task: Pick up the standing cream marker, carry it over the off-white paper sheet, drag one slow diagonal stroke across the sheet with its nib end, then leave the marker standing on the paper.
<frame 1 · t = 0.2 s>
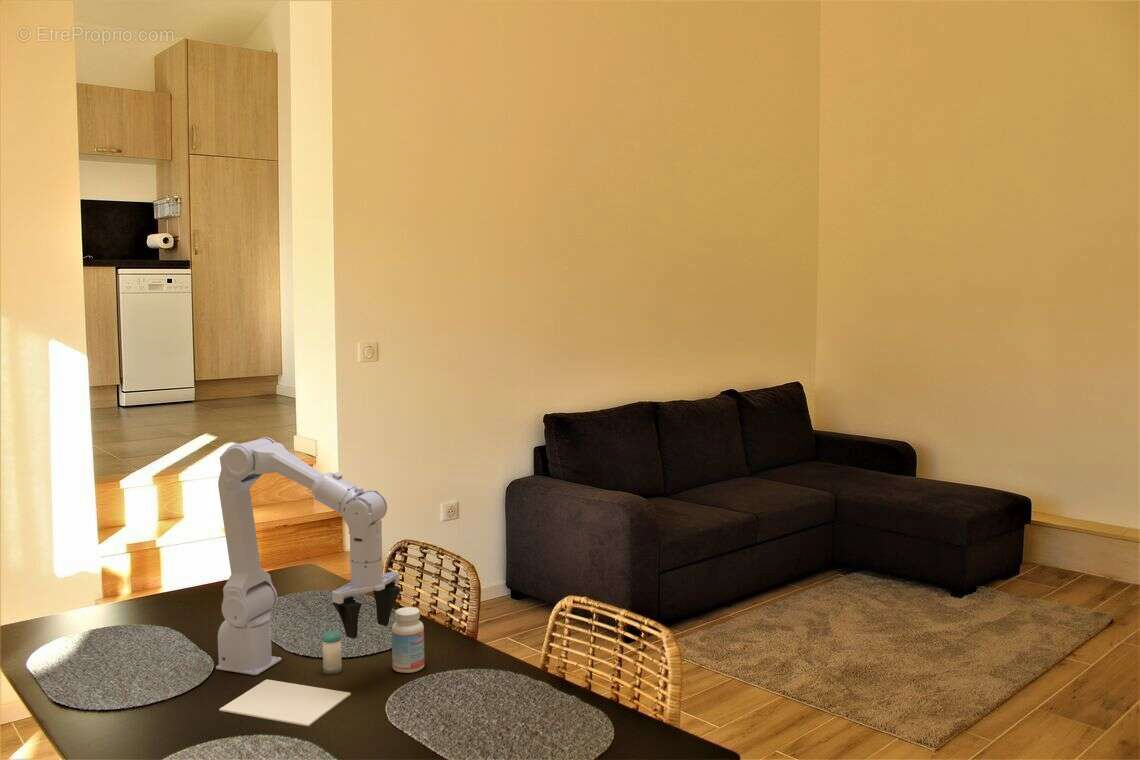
hand: (367, 630, 174), 10 cm above the table, fingers open, 7 cm apart
marker: (332, 670, 181), on the table
paper: (286, 702, 167), on the table
pill bottle: (408, 668, 182), on the table
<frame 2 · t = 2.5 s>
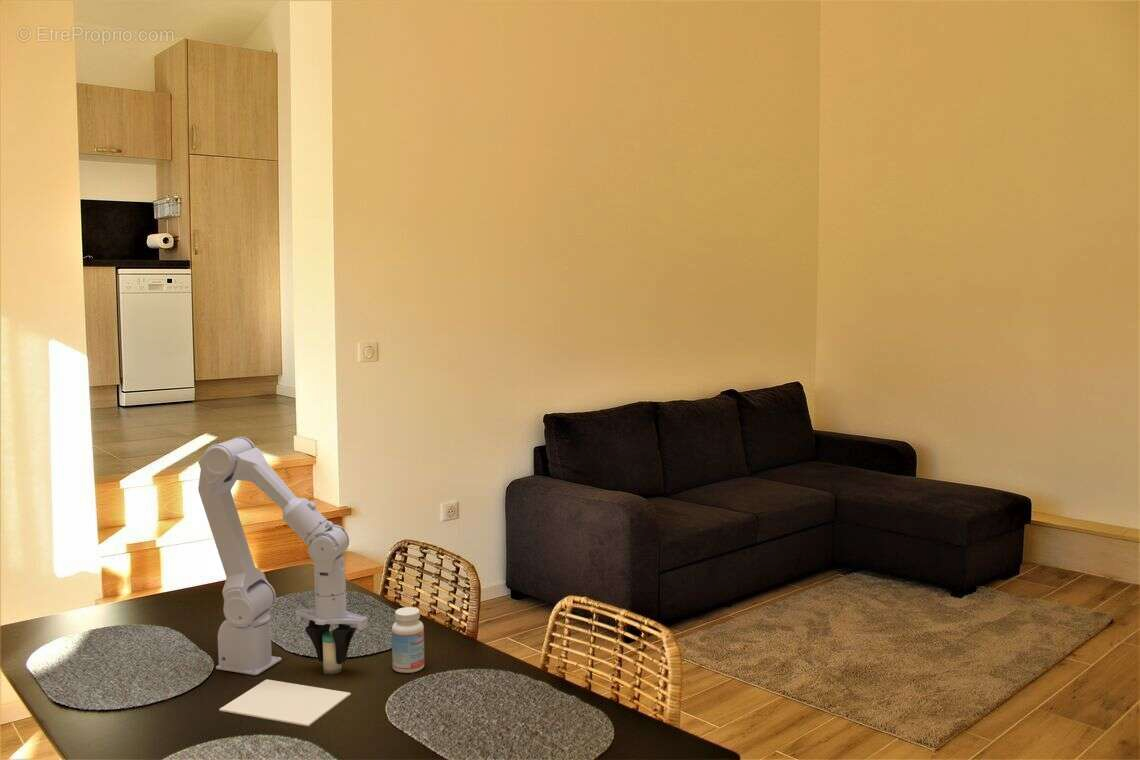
hand: (332, 661, 180), 2 cm above the table, fingers closed on marker, 3 cm apart
marker: (332, 670, 181), on the table, touching gripper
everything else where it was.
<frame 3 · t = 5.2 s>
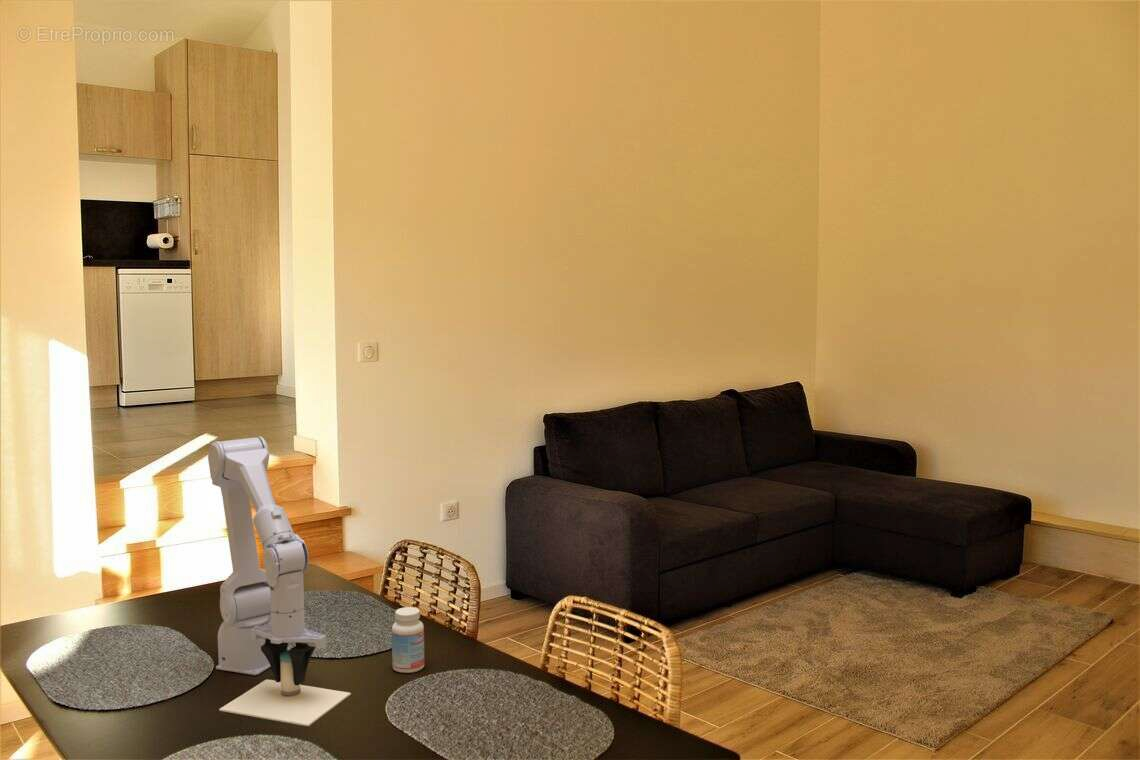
hand: (289, 681, 170), 2 cm above the table, fingers closed on marker, 3 cm apart
marker: (290, 692, 170), resting on paper, touching gripper
everything else where it was.
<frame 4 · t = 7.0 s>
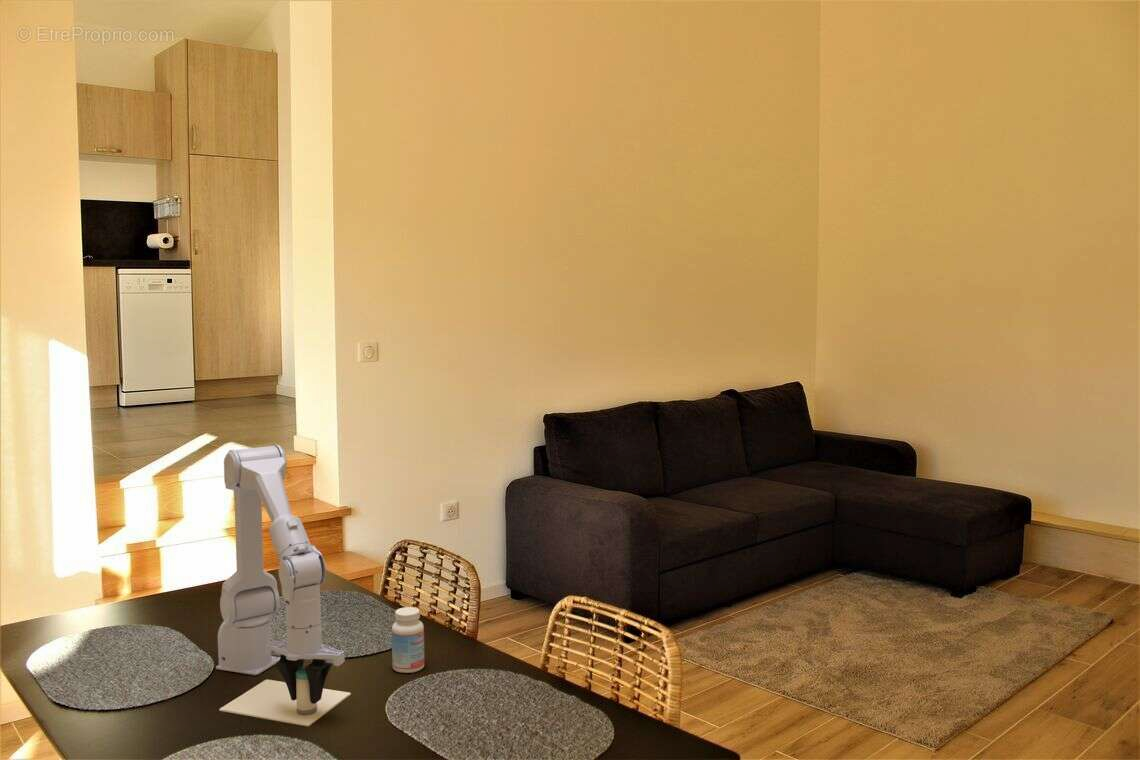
hand: (306, 699, 163), 2 cm above the table, fingers closed on marker, 3 cm apart
marker: (306, 710, 163), resting on paper, touching gripper
everything else where it was.
when the fingers open (3 cm above the table, at t = 8.2 s): marker stays where it is, resting on paper.
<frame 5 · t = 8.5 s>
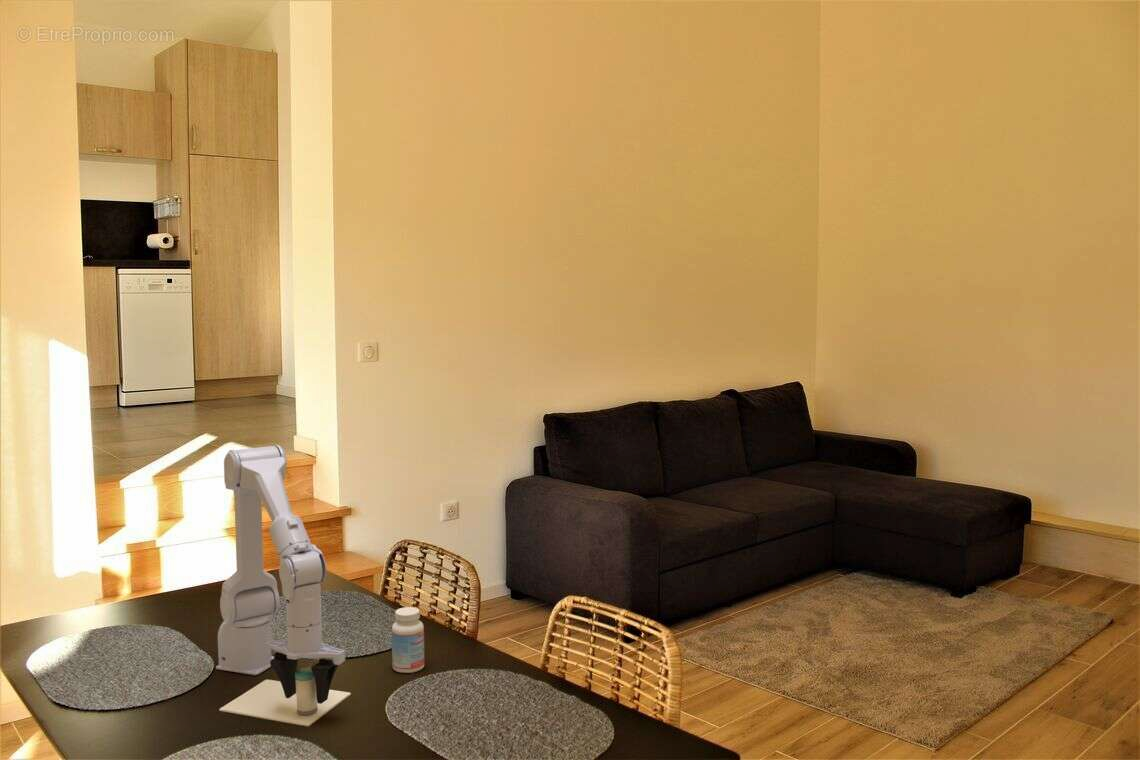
hand: (306, 698, 162), 3 cm above the table, fingers open, 6 cm apart
marker: (307, 711, 163), resting on paper
everything else where it was.
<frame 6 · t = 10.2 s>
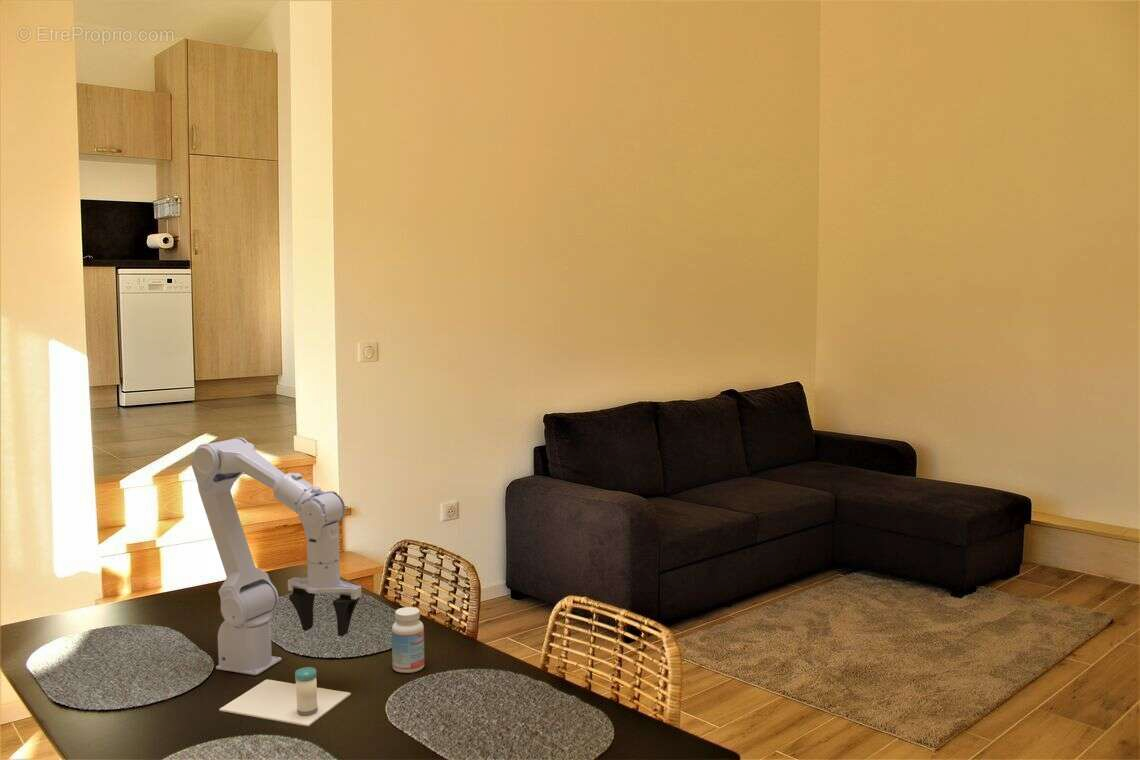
hand: (325, 631, 174), 10 cm above the table, fingers open, 7 cm apart
nothing on the table moved.
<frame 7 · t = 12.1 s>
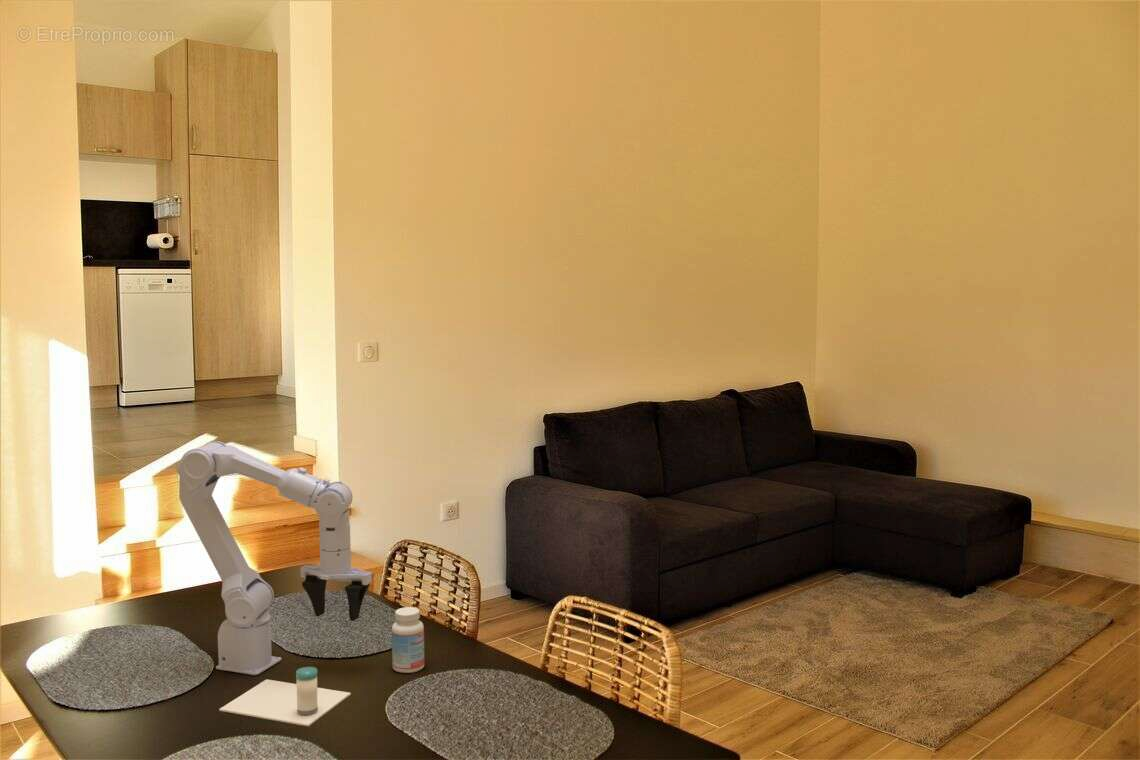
hand: (337, 616, 181), 10 cm above the table, fingers open, 7 cm apart
nothing on the table moved.
at the end: marker inside the target area on the paper (6.5 cm from its centre), point 0.3 cm above the paper's base; marker tilted 1°; marker moved 17.9 cm from its start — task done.
